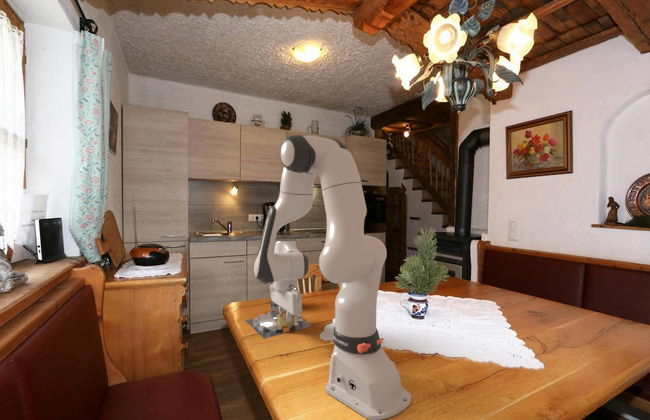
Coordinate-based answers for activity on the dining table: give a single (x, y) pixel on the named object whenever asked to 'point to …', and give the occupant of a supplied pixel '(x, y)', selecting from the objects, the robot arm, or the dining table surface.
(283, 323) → the brass link
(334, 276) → the robot arm
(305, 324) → the base plate
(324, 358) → the dining table surface
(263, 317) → the sprocket
